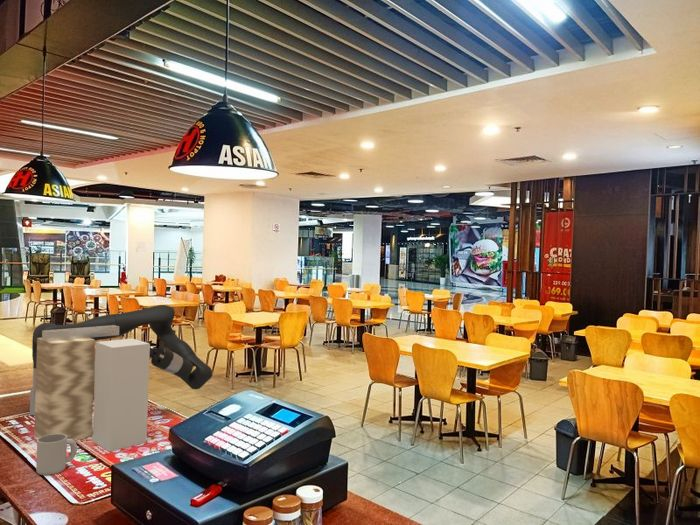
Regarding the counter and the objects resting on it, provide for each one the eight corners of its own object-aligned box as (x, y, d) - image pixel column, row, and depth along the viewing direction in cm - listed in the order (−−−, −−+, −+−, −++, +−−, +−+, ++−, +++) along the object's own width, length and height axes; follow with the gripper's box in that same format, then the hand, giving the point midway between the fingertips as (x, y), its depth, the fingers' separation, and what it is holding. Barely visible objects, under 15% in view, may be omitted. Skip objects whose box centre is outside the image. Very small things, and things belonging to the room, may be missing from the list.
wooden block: (46, 341, 163) (46, 332, 163) (42, 339, 166) (42, 330, 166) (119, 335, 181) (119, 326, 180) (114, 333, 183) (114, 325, 183)
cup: (33, 468, 145) (34, 437, 145) (73, 460, 151) (74, 430, 151) (38, 477, 139) (39, 444, 139) (79, 468, 146) (80, 437, 146)
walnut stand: (48, 446, 161) (51, 343, 160) (34, 435, 170) (37, 337, 169) (91, 436, 171) (94, 339, 170) (76, 426, 179) (79, 334, 179)
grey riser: (109, 451, 159) (112, 347, 158) (92, 441, 166) (95, 342, 166) (146, 442, 167) (149, 343, 167) (129, 432, 175) (132, 338, 175)
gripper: (162, 348, 203) (128, 331, 192) (182, 354, 193) (146, 336, 183) (153, 366, 200) (117, 349, 190) (172, 373, 191) (135, 355, 180)
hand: (132, 343), depth 186 cm, fingers open, 8 cm apart
